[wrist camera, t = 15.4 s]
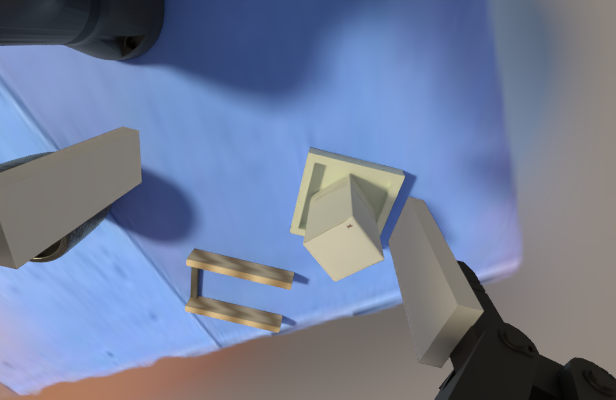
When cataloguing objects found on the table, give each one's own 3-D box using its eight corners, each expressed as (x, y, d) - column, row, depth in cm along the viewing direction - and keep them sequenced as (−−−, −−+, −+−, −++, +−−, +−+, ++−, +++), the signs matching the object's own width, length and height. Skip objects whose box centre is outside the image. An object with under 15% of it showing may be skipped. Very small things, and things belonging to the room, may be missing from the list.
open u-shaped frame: (191, 299, 60) (185, 311, 58) (194, 248, 54) (186, 259, 51) (281, 320, 61) (278, 332, 58) (294, 272, 54) (291, 283, 52)
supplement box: (309, 195, 46) (300, 243, 35) (350, 171, 43) (354, 215, 32) (334, 229, 48) (333, 283, 37) (375, 208, 46) (386, 260, 35)
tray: (291, 224, 50) (289, 232, 47) (309, 147, 43) (308, 152, 41) (371, 243, 50) (372, 252, 48) (401, 170, 43) (405, 176, 41)
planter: (109, 137, 45) (31, 168, 34) (141, 215, 52) (85, 263, 40) (30, 143, 47) (-69, 174, 36) (70, 217, 53) (-2, 264, 42)
